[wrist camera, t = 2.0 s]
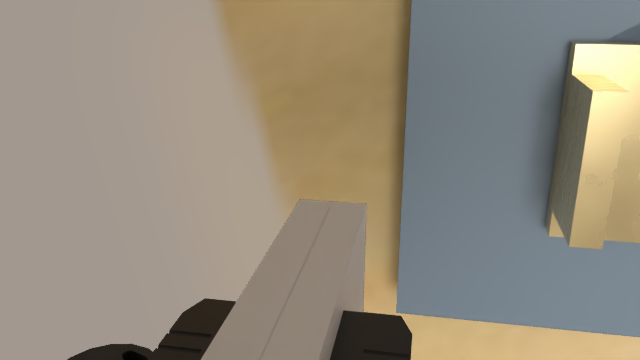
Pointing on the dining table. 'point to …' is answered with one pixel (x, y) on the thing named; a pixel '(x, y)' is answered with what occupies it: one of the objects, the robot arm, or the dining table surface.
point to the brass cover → (598, 147)
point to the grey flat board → (502, 169)
